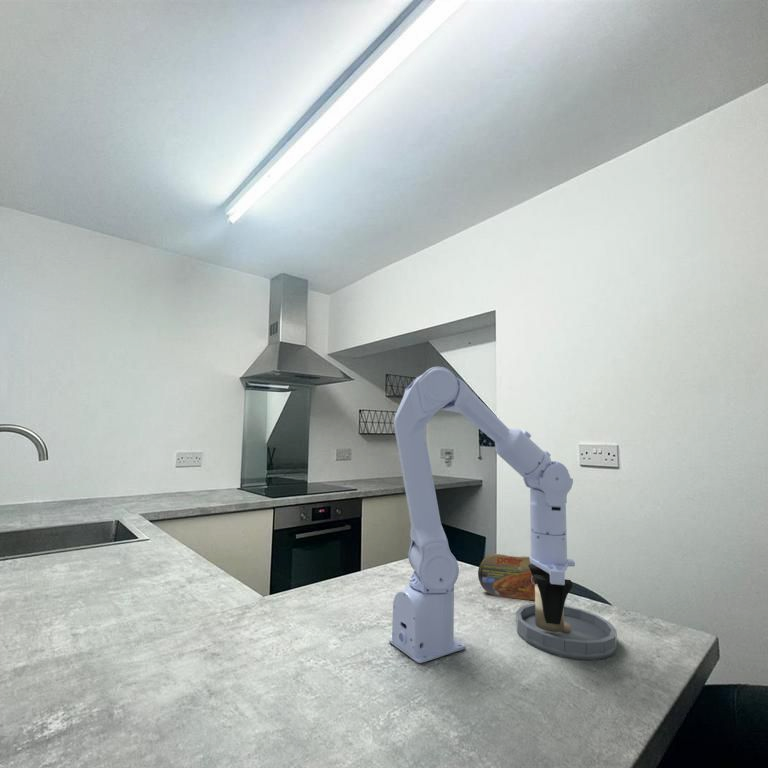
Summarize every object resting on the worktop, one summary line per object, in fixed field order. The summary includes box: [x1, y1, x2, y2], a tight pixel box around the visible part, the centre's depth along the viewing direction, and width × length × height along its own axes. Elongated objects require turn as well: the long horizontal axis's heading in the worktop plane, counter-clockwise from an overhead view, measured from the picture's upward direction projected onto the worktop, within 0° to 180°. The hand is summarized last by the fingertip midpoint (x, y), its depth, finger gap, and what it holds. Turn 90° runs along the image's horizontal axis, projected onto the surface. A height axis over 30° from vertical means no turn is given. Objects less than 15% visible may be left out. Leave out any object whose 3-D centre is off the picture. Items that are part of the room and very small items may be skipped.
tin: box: [477, 553, 535, 602], centre depth 90 cm, size 15×3×8 cm, turn 75°
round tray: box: [515, 603, 618, 661], centre depth 71 cm, size 16×16×2 cm
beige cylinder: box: [534, 584, 564, 632], centre depth 70 cm, size 4×4×6 cm
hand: (549, 616), depth 70 cm, fingers closed on beige cylinder, 4 cm apart
